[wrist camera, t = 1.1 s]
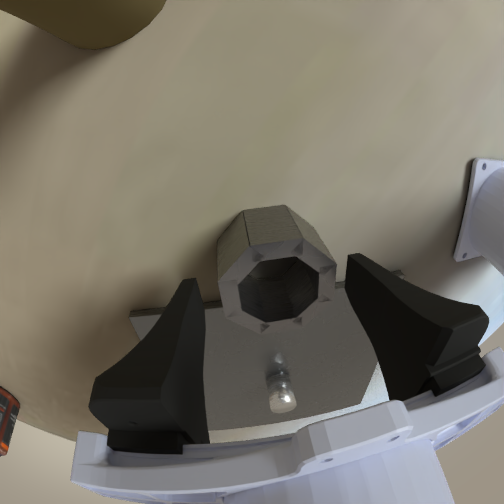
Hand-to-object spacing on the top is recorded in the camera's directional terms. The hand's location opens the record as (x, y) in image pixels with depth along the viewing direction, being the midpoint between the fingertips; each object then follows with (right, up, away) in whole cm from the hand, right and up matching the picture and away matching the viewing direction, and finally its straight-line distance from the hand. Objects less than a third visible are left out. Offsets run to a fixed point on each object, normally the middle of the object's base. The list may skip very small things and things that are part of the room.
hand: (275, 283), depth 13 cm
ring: (0, +1, +2) cm, 3 cm away
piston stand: (+1, -9, +9) cm, 12 cm away
